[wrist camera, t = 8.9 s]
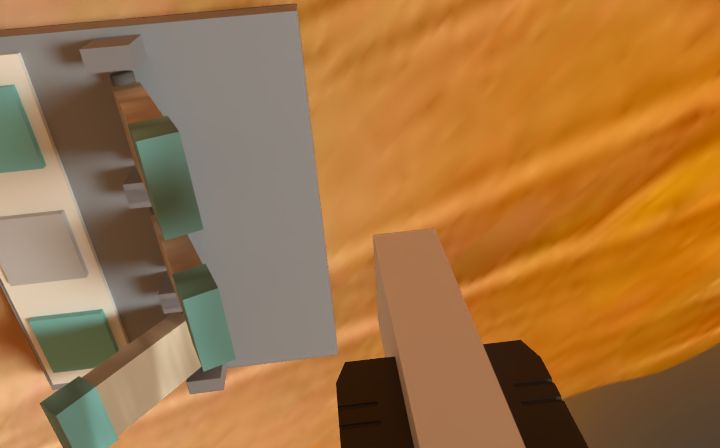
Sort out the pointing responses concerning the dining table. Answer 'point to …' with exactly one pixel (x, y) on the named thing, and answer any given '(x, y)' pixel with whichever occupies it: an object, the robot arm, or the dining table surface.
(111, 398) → the lever
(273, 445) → the dining table surface
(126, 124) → the lever
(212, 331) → the lever
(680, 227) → the dining table surface
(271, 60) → the switch board
